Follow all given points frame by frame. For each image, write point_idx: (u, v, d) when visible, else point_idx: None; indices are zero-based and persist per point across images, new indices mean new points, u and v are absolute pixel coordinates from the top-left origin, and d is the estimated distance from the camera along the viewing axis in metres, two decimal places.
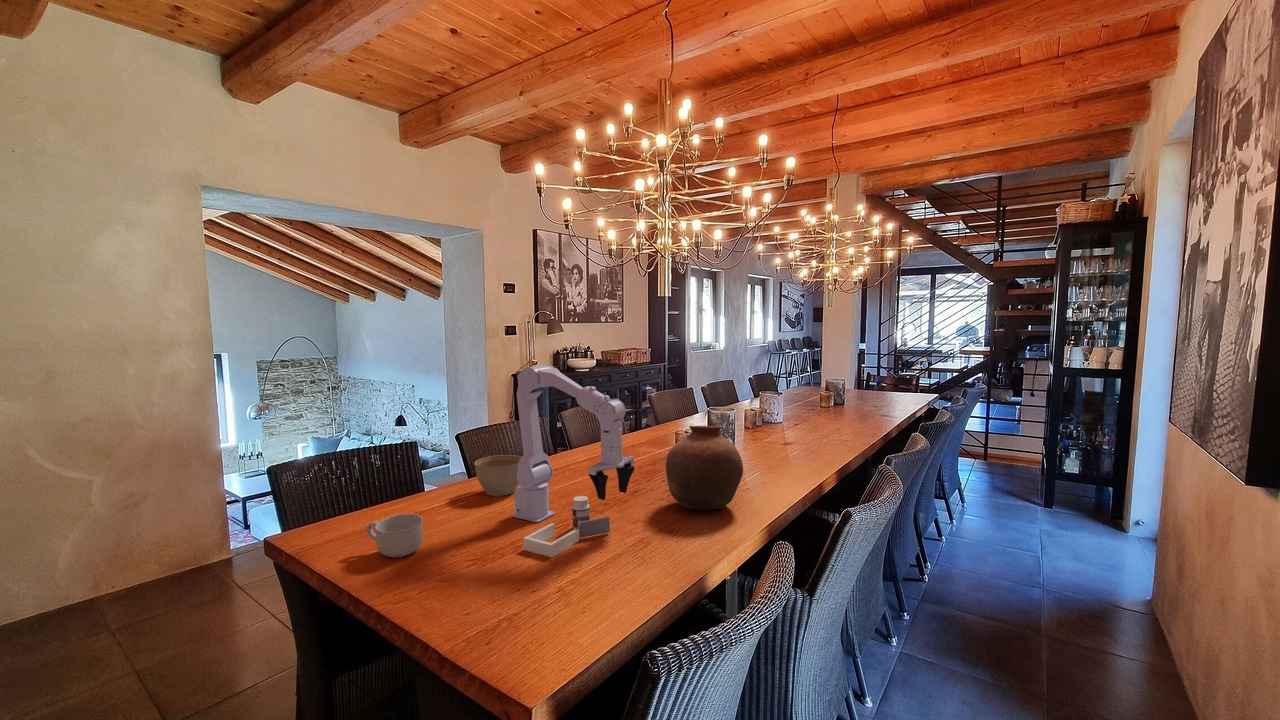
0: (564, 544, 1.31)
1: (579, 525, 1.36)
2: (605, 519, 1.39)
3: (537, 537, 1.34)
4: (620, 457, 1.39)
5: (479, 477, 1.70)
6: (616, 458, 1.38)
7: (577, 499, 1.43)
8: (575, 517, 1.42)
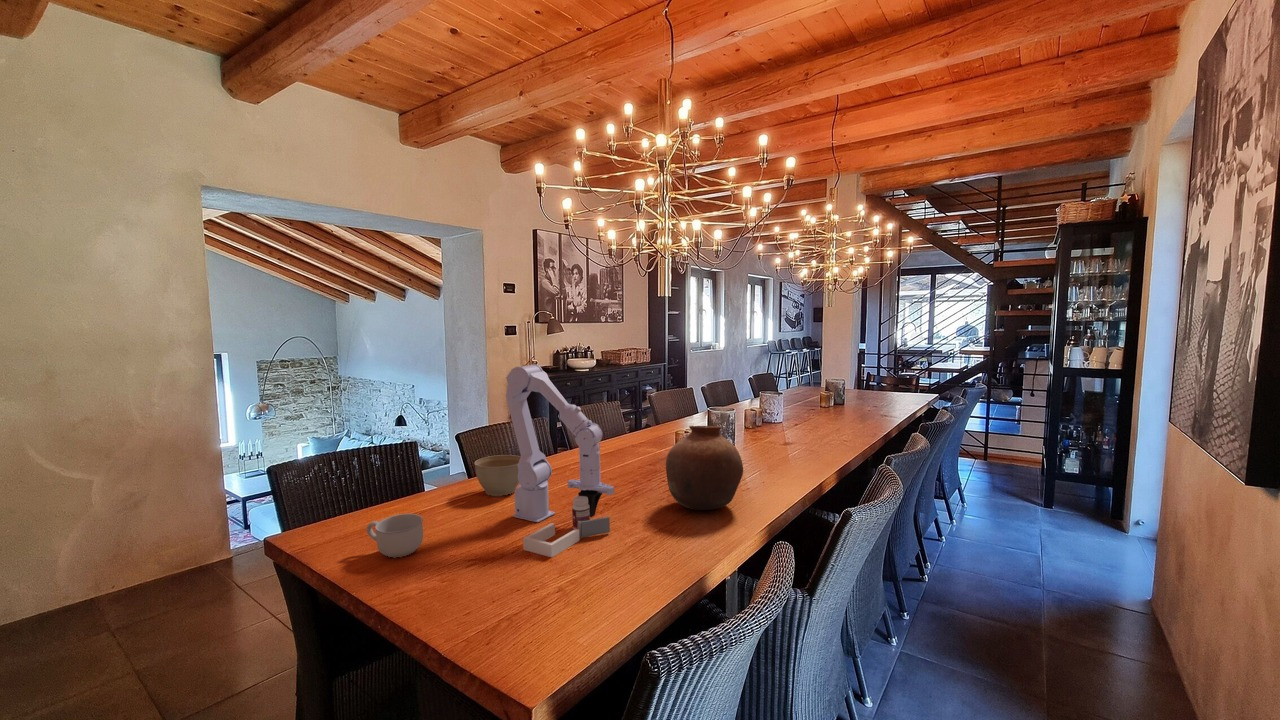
0: (564, 544, 1.31)
1: (579, 525, 1.36)
2: (605, 519, 1.39)
3: (537, 537, 1.34)
4: (586, 481, 1.45)
5: (479, 477, 1.70)
6: (581, 480, 1.45)
7: (577, 499, 1.43)
8: (575, 517, 1.42)
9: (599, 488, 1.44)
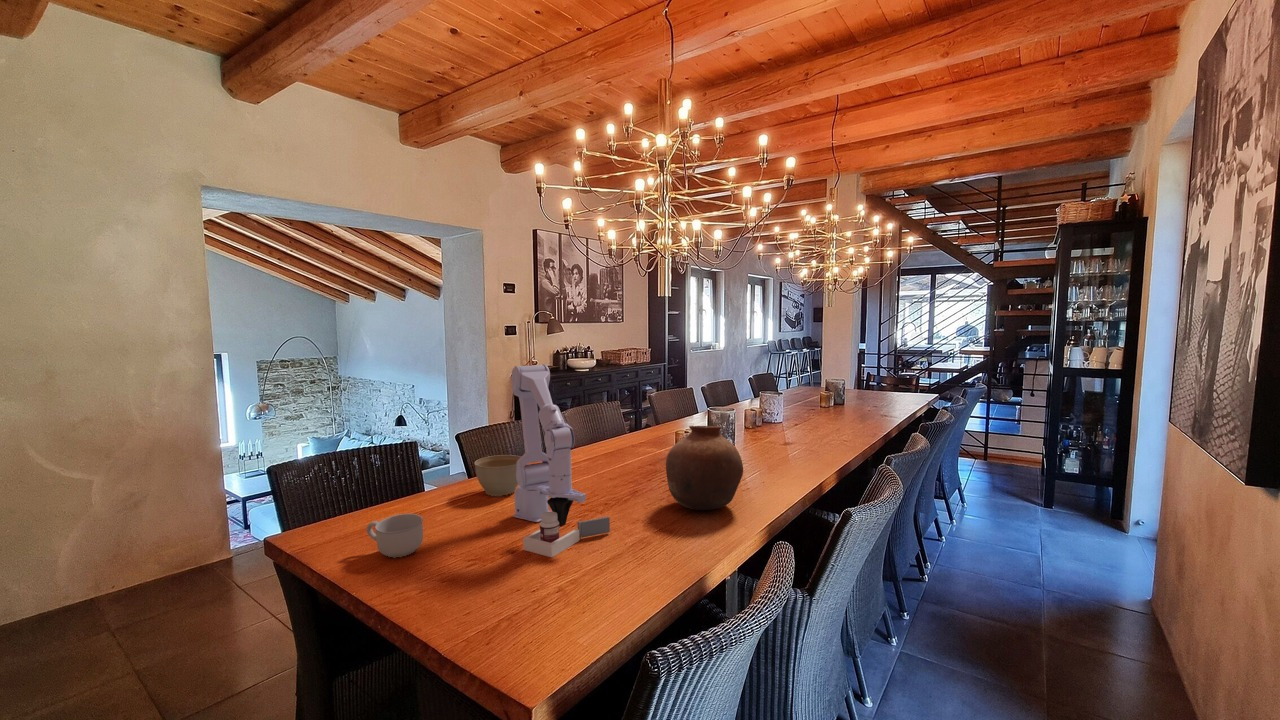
0: (564, 544, 1.31)
1: (579, 525, 1.36)
2: (605, 519, 1.39)
3: (537, 537, 1.34)
4: (555, 487, 1.33)
5: (479, 477, 1.70)
6: (551, 486, 1.34)
7: (545, 515, 1.31)
8: (543, 535, 1.30)
9: (569, 495, 1.32)
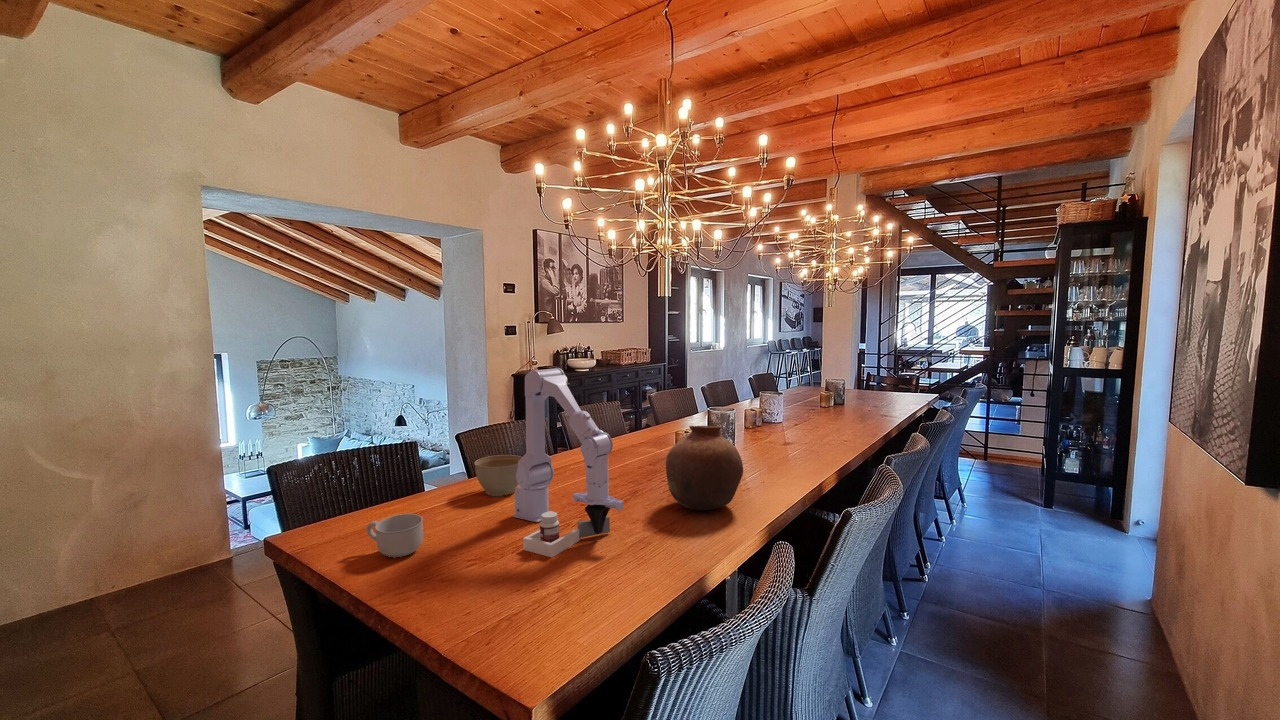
0: (564, 544, 1.31)
1: (579, 525, 1.36)
2: (605, 519, 1.39)
3: (537, 537, 1.34)
4: (593, 495, 1.33)
5: (479, 477, 1.70)
6: (588, 494, 1.34)
7: (545, 515, 1.31)
8: (543, 535, 1.30)
9: (607, 503, 1.32)
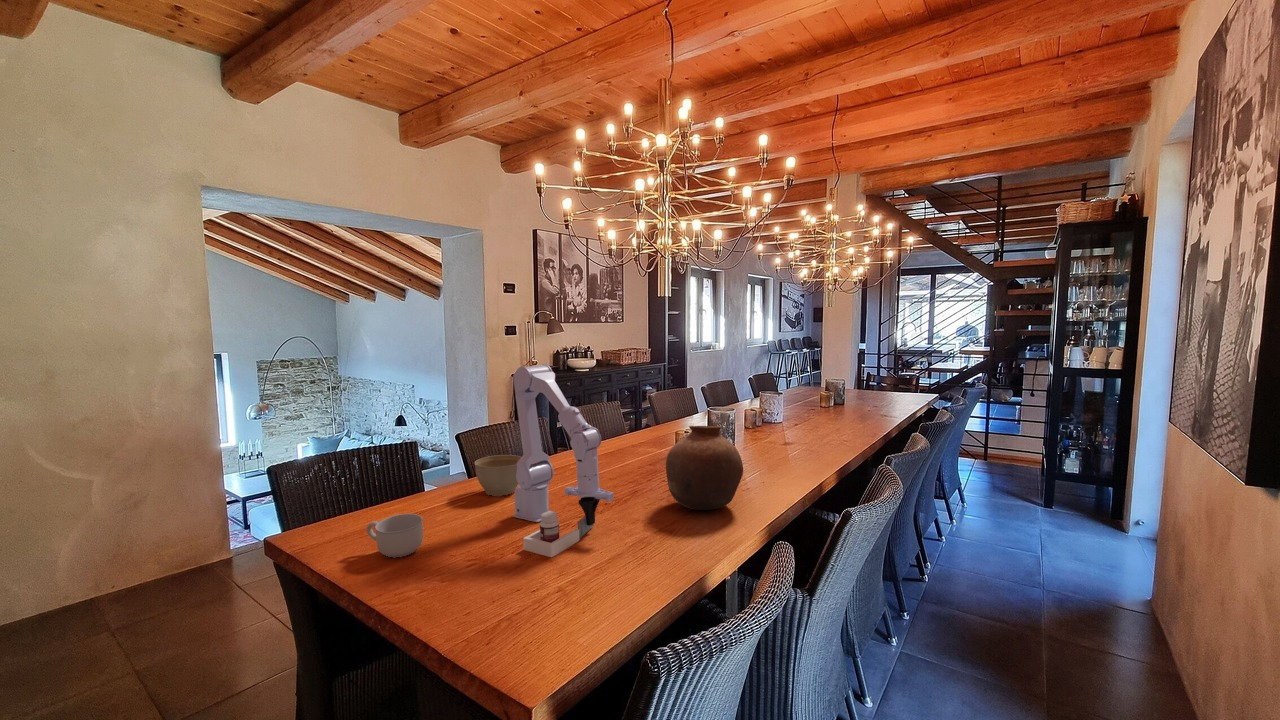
0: (564, 544, 1.31)
1: (580, 525, 1.36)
2: None
3: (537, 537, 1.34)
4: (584, 487, 1.38)
5: (479, 477, 1.70)
6: (579, 487, 1.38)
7: (545, 515, 1.31)
8: (543, 535, 1.30)
9: (598, 494, 1.37)
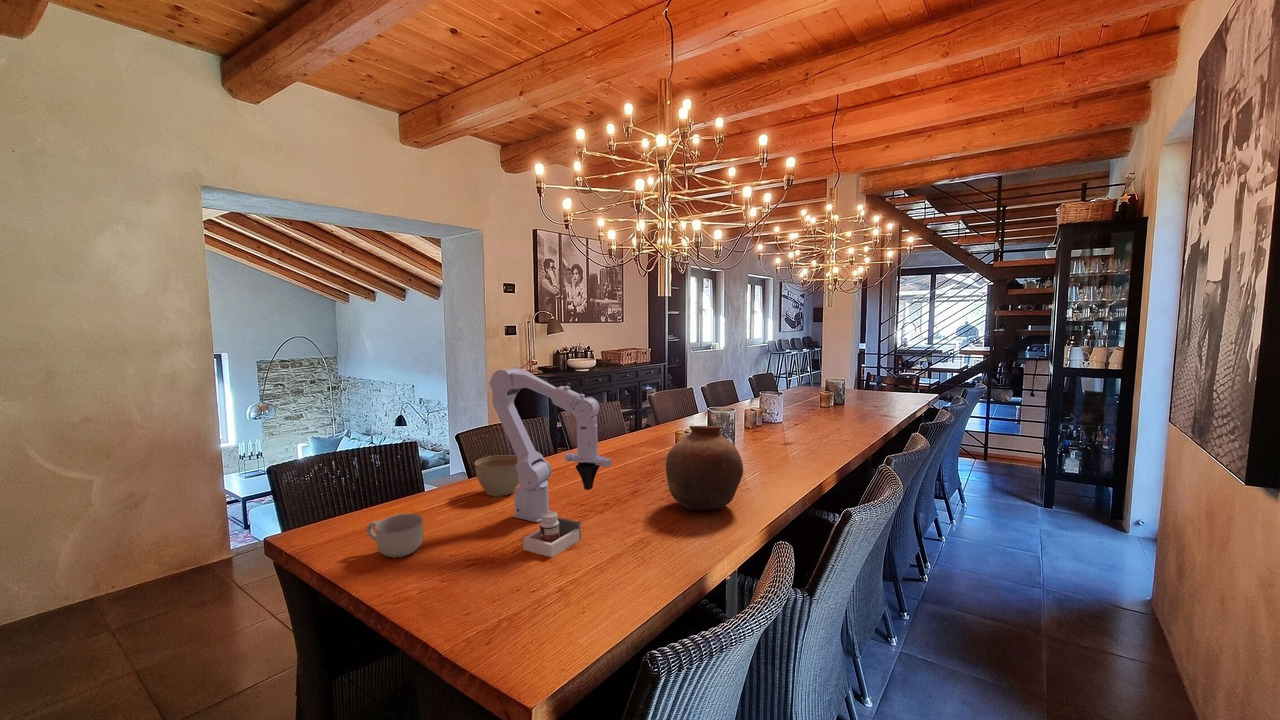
0: (564, 544, 1.31)
1: None
2: None
3: (537, 537, 1.34)
4: (583, 453, 1.45)
5: (479, 477, 1.70)
6: (579, 452, 1.46)
7: (545, 515, 1.31)
8: (543, 535, 1.30)
9: (596, 460, 1.44)
